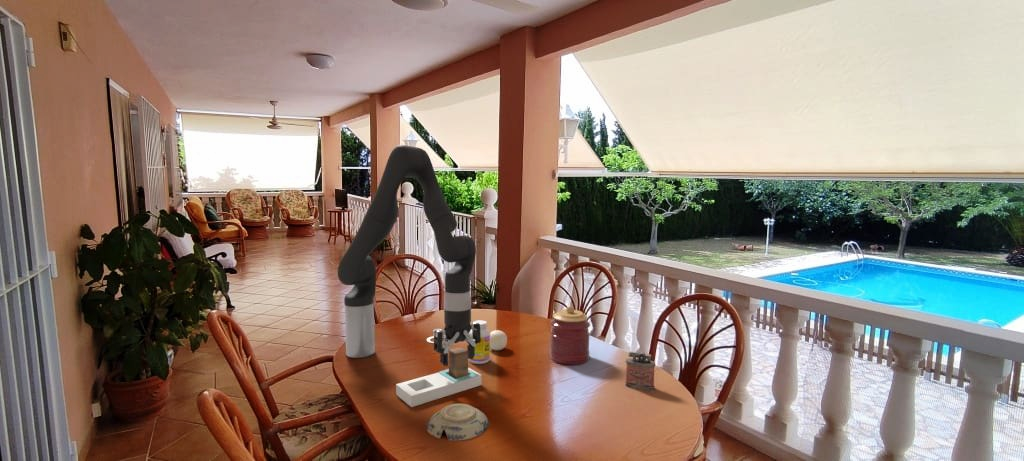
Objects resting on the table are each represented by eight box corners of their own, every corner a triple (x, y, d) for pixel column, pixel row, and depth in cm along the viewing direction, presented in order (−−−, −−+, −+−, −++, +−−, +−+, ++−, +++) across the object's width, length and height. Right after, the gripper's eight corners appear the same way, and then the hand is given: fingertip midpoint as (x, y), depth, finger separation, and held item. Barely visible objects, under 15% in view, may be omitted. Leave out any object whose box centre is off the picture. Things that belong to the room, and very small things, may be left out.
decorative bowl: (491, 411, 122) (433, 409, 122) (491, 397, 121) (433, 395, 122) (486, 444, 107) (419, 441, 108) (486, 428, 107) (419, 426, 107)
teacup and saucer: (438, 335, 181) (438, 324, 181) (454, 339, 177) (454, 328, 176) (421, 341, 174) (421, 330, 174) (437, 345, 170) (437, 334, 169)
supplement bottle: (486, 365, 151) (486, 326, 149) (466, 363, 152) (466, 324, 151) (491, 357, 157) (491, 320, 156) (472, 356, 159) (472, 318, 157)
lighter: (654, 386, 136) (655, 352, 135) (654, 391, 133) (655, 356, 132) (625, 382, 139) (626, 349, 138) (624, 386, 136) (625, 353, 135)
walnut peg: (448, 383, 137) (448, 350, 136) (460, 380, 140) (460, 347, 139) (456, 388, 134) (455, 354, 133) (468, 384, 137) (468, 351, 136)
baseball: (511, 347, 167) (511, 329, 166) (500, 354, 161) (500, 335, 160) (494, 344, 170) (494, 326, 170) (483, 351, 164) (483, 332, 163)
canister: (570, 368, 149) (571, 313, 147) (541, 357, 158) (542, 305, 157) (597, 358, 157) (598, 306, 155) (567, 348, 167) (568, 298, 165)
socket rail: (396, 394, 130) (396, 383, 130) (464, 374, 143) (464, 364, 143) (411, 407, 123) (411, 395, 123) (481, 384, 136) (481, 374, 136)
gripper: (471, 300, 142) (471, 352, 144) (428, 307, 133) (429, 363, 135) (486, 305, 136) (485, 360, 138) (442, 313, 127) (442, 372, 129)
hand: (457, 361), depth 136 cm, fingers open, 8 cm apart
